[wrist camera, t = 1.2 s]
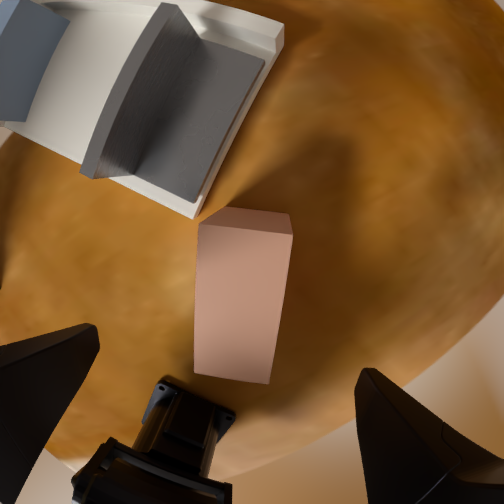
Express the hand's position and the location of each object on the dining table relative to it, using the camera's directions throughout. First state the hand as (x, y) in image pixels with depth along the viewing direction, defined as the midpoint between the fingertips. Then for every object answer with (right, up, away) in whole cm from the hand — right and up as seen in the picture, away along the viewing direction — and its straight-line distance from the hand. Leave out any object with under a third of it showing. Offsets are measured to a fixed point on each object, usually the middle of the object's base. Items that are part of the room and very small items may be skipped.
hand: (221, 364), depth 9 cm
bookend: (-2, +10, +5) cm, 12 cm away
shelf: (-8, +14, +6) cm, 17 cm away
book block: (+1, +2, +8) cm, 9 cm away
